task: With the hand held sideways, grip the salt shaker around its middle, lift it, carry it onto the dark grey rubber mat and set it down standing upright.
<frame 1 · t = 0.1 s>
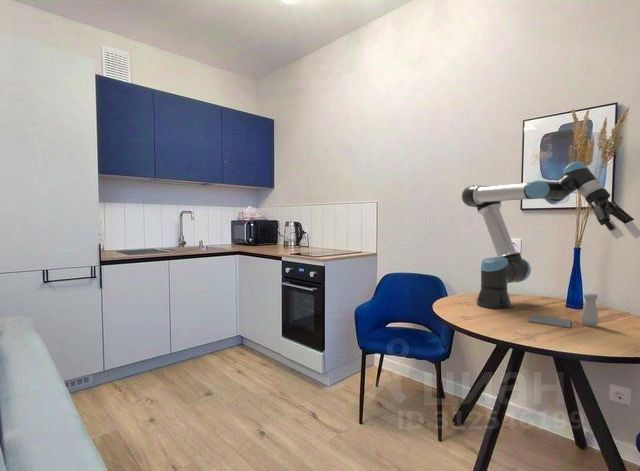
hand: (629, 236, 130), 36 cm above the table, tool tilted 35°, fingers open, 13 cm apart
salt shaker: (589, 325, 137), on the table
mat: (549, 321, 142), on the table
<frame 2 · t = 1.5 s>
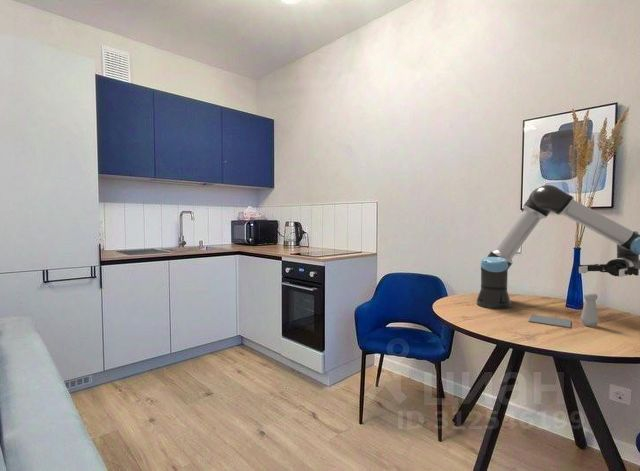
hand: (599, 271, 141), 21 cm above the table, tool horizontal, fingers open, 13 cm apart
nothing on the table moved.
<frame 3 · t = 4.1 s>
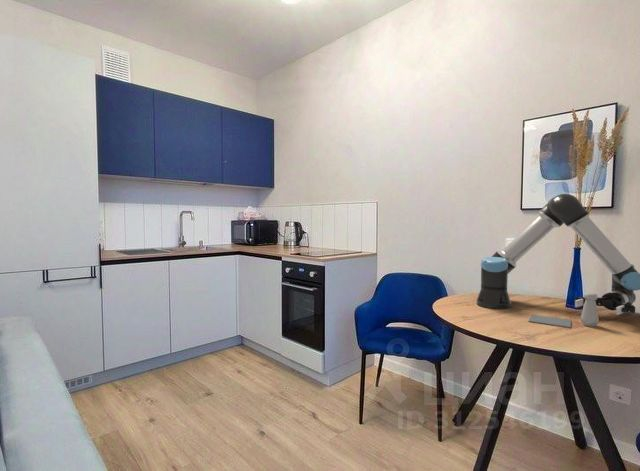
hand: (595, 307, 138), 7 cm above the table, tool horizontal, fingers open, 13 cm apart
nothing on the table moved.
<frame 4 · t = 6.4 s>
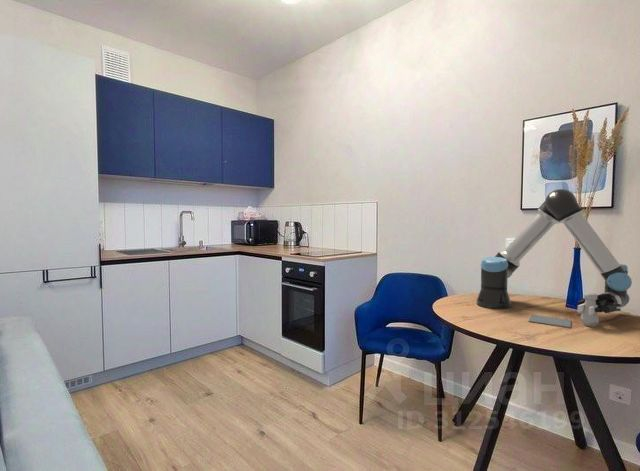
hand: (584, 309, 134), 7 cm above the table, tool horizontal, fingers closed on salt shaker, 3 cm apart
salt shaker: (589, 325, 137), on the table, touching gripper
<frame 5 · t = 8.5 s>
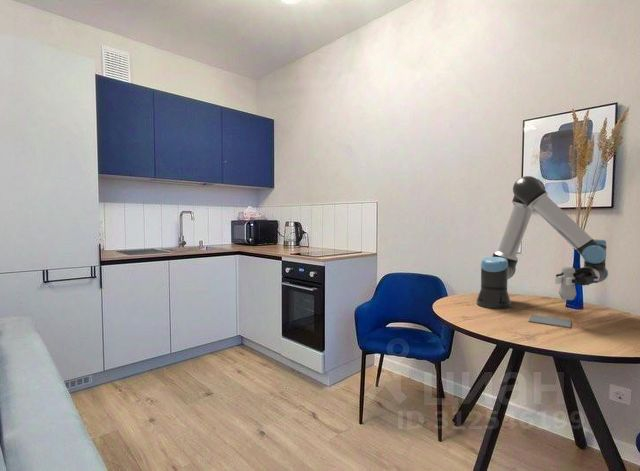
hand: (561, 281, 136), 18 cm above the table, tool horizontal, fingers closed on salt shaker, 3 cm apart
salt shaker: (567, 299, 139), point 10 cm above the table, touching gripper
when the fingers open (9 cm above the table, at t = 10.8 s): salt shaker stays where it is, resting on mat.
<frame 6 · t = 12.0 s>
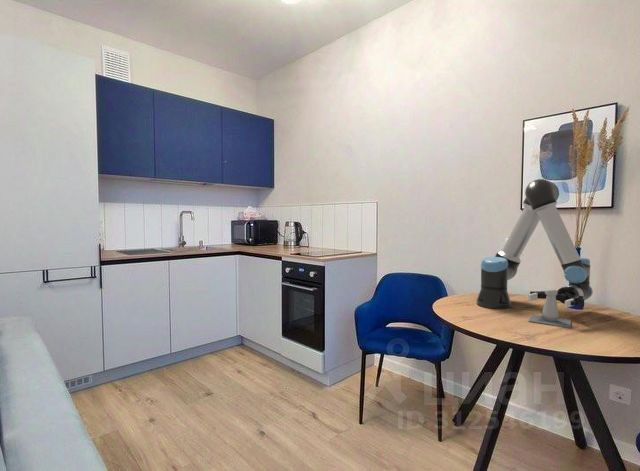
hand: (546, 300, 140), 9 cm above the table, tool horizontal, fingers open, 13 cm apart
salt shaker: (550, 320, 142), resting on mat
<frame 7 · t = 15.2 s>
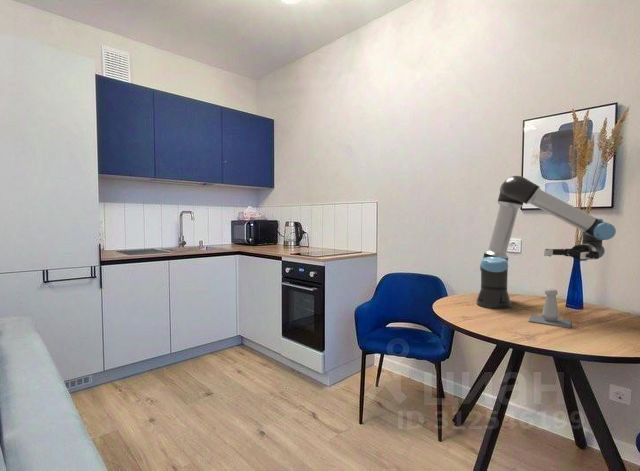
hand: (562, 254, 147), 27 cm above the table, tool horizontal, fingers open, 13 cm apart
nothing on the table moved.
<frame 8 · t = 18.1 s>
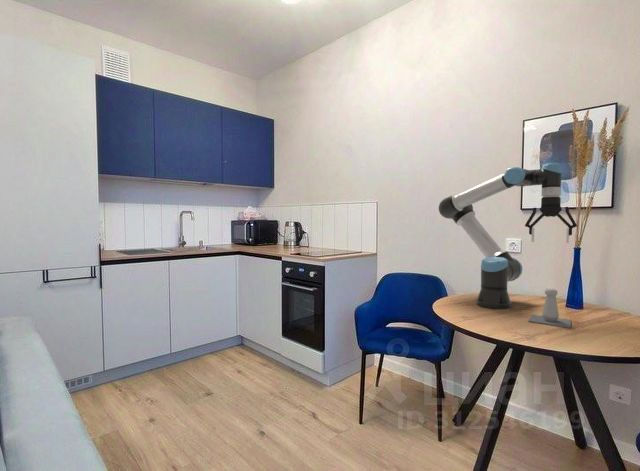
hand: (549, 242, 161), 32 cm above the table, tool pointing down, fingers open, 13 cm apart
nothing on the table moved.
at the end: salt shaker inside the target area on the mat (0.1 cm from its centre), point 0.3 cm above the mat's base; salt shaker tilted 0°; the gripper is holding nothing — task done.
